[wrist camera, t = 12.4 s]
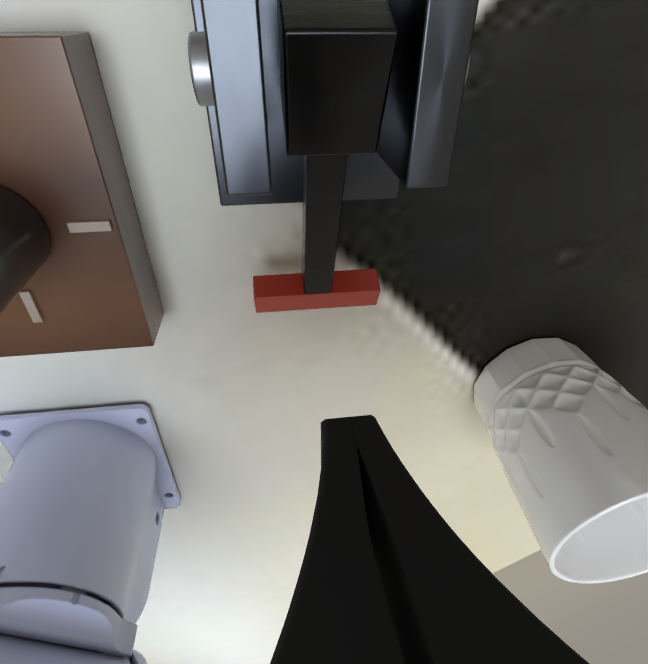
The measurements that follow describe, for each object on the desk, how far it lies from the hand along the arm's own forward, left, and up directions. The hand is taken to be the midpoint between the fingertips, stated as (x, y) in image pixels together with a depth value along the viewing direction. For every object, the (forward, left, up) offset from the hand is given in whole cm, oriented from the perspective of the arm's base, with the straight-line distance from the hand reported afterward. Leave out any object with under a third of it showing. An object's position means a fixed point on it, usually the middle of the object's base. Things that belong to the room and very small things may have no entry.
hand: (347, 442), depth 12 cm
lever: (+5, 0, -7) cm, 8 cm away
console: (+3, +11, -10) cm, 15 cm away
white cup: (-9, -13, -11) cm, 19 cm away
